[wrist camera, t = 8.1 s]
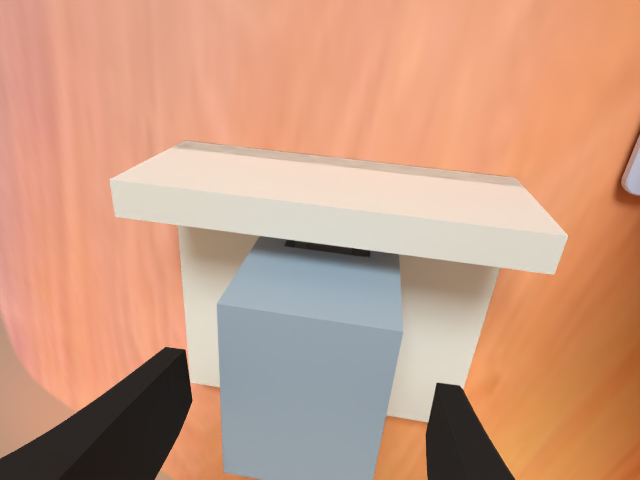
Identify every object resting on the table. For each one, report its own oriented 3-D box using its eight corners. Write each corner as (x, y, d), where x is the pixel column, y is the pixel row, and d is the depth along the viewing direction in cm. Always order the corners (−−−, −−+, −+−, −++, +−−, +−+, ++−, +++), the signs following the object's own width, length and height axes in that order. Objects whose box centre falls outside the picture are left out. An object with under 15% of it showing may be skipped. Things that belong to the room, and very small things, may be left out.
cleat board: (515, 177, 16) (568, 235, 11) (448, 406, 21) (465, 510, 17) (184, 140, 17) (109, 179, 12) (199, 365, 22) (151, 451, 18)
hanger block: (397, 234, 16) (403, 331, 11) (374, 371, 19) (368, 499, 14) (271, 218, 17) (216, 303, 11) (267, 354, 20) (223, 472, 14)
